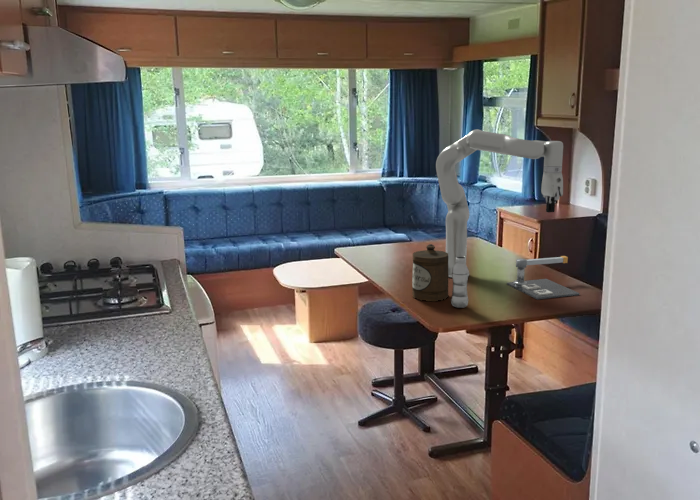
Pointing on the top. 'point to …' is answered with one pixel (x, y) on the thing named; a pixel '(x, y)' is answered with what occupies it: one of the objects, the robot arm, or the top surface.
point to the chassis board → (544, 284)
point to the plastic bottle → (459, 283)
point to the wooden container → (430, 274)
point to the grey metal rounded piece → (520, 277)
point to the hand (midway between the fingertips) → (550, 211)
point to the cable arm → (540, 261)
